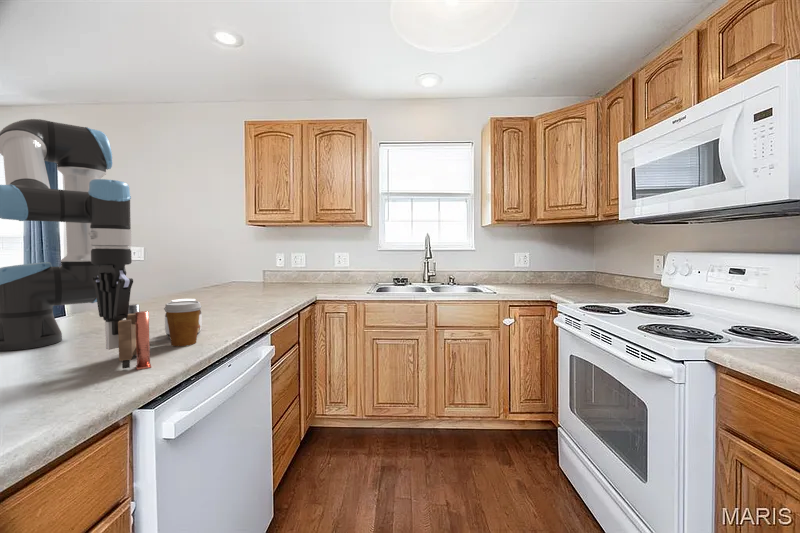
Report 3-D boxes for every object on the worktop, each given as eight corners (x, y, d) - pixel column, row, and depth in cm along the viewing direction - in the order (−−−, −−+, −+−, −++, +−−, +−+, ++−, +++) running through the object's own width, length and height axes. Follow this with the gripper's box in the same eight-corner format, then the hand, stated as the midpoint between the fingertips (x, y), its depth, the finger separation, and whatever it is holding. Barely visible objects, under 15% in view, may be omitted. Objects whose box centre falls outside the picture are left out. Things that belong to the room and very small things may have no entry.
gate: (119, 370, 85) (117, 322, 85) (128, 355, 97) (127, 313, 96) (131, 368, 86) (129, 321, 86) (138, 354, 98) (137, 312, 97)
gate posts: (128, 354, 99) (126, 305, 99) (145, 351, 102) (144, 303, 101) (131, 370, 86) (129, 313, 85) (151, 367, 88) (149, 312, 88)
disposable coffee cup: (192, 338, 117) (191, 299, 116) (208, 342, 111) (207, 302, 111) (158, 344, 109) (157, 303, 109) (174, 349, 104) (173, 306, 103)
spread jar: (182, 341, 113) (181, 302, 113) (150, 339, 116) (149, 301, 115) (210, 332, 125) (209, 297, 125) (180, 331, 127) (179, 296, 127)
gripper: (78, 247, 88) (81, 348, 89) (107, 247, 82) (110, 355, 83) (114, 247, 94) (117, 341, 95) (144, 248, 88) (146, 347, 89)
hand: (114, 347), depth 89 cm, fingers closed
